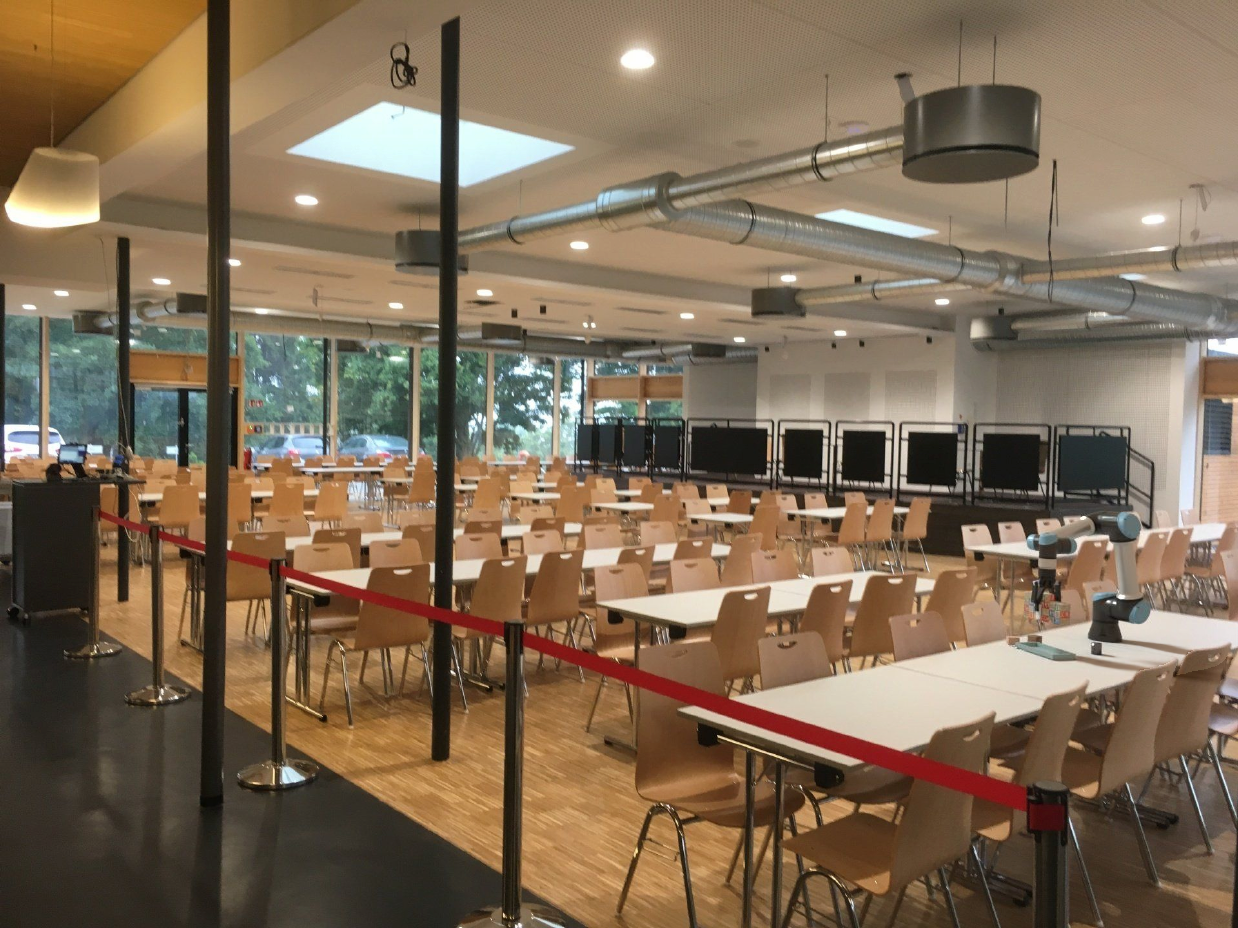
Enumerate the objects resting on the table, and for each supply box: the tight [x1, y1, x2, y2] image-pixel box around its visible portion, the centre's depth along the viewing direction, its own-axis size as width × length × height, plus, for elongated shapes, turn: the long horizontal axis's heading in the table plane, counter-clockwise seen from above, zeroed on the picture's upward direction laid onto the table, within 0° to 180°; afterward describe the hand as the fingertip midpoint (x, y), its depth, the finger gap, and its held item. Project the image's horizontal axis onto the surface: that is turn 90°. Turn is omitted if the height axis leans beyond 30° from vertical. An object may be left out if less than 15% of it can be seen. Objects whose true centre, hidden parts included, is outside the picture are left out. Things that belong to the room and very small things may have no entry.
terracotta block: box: [1005, 635, 1021, 646], centre depth 462 cm, size 5×4×4 cm
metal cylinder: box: [1090, 641, 1103, 656], centre depth 445 cm, size 4×4×5 cm
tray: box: [1014, 641, 1077, 661], centre depth 444 cm, size 12×27×2 cm, turn 13°
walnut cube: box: [1026, 634, 1043, 644], centre depth 463 cm, size 4×4×4 cm
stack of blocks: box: [1023, 590, 1071, 626], centre depth 443 cm, size 21×6×12 cm, turn 21°
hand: (1045, 618), depth 443 cm, fingers closed on stack of blocks, 7 cm apart
